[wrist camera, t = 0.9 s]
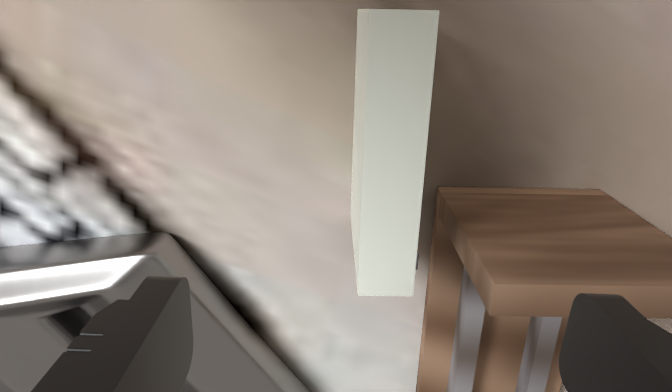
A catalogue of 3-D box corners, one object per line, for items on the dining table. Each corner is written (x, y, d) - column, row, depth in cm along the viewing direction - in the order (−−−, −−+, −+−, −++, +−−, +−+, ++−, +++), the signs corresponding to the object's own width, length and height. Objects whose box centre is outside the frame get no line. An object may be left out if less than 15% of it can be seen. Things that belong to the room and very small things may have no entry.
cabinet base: (437, 186, 29) (495, 284, 19) (599, 189, 29) (745, 287, 19) (411, 430, 36) (443, 596, 26) (541, 431, 36) (622, 597, 26)
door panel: (357, 9, 25) (369, 8, 17) (409, 10, 25) (447, 10, 17) (350, 214, 30) (357, 295, 21) (395, 215, 30) (419, 296, 21)
